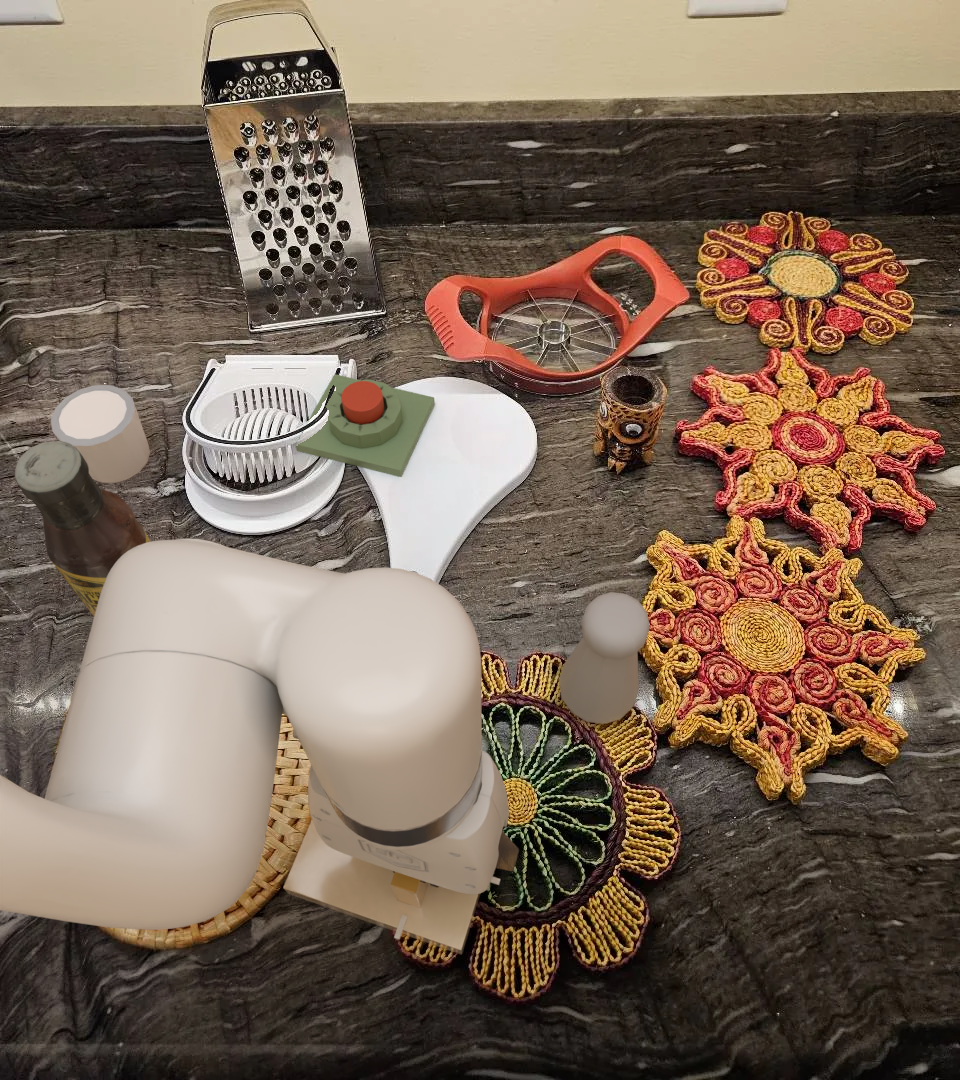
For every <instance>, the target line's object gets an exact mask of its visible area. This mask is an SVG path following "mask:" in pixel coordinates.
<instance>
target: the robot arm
mask: <svg viewBox="0 0 960 1080" xmlns="http://www.w3.org/2000/svg"><path fill="white" fill-rule="evenodd" d="M88 634H89V635H88V639H87V642H86V645H85V649H84V654H83V657H82V662H81V664H80V669H79V672H78V676H77V677H76V681H75V684H74V688H73V692H72V696H71V699H70V702H69V706H68V710H67V714H66V718H65V721H64V725H63V728H62V731H61V732H62V733H61V736H60V739H59V743H58V747H57V751H56V754H55V758H54V762H53V764H52V765H53V766H52V768H51V773H50V776H49V780H48V783H47V788H46V791H45V795H44V797H41V796H40V795H39V796H38V795H36V794H34V793H32V792H30V791H27V790H26V789H24V788H23V787H21V786H19V785H18V784H16V783H14V782H13V781H11V780H10V779H9V778H7V777H5V776H3V775H2V774H0V911H3V912H8V913H15V914H21V915H26V916H32V917H38V918H44V919H50V920H56V921H63V922H68V923H75V924H82V925H90V926H97V927H101V928H102V927H103V928H108V929H109V928H110V929H126V930H127V929H129V930H148V931H159V930H171V929H178V928H180V929H181V928H185V927H189V926H192V925H196V924H199V923H204V922H206V921H208V920H211V919H213V918H215V917H217V916H219V915H220V914H222V913H223V912H225V911H227V910H228V909H230V908H231V907H232V906H233V905H235V903H236V902H237V901H238V900H239V899H240V898H241V897H242V896H243V894H244V893H245V892H246V891H247V890H248V889H249V887H250V885H251V884H252V882H253V880H254V879H255V877H256V874H257V872H258V869H259V866H260V862H261V859H262V855H263V853H264V849H265V843H266V838H267V830H268V826H269V819H270V811H271V805H272V799H273V798H272V797H273V792H274V791H273V790H274V784H275V778H276V777H275V776H276V768H277V759H278V751H279V743H280V736H281V735H280V734H281V726H282V720H283V719H282V717H283V715H284V716H286V717H287V719H288V721H289V722H290V723H289V724H290V725H291V727H292V737H293V738H294V739H296V740H298V741H299V743H300V746H301V748H302V749H303V751H304V753H305V756H306V757H307V759H308V761H309V763H310V766H309V771H308V772H309V773H308V780H307V800H308V801H307V804H308V805H307V806H308V811H309V815H310V818H311V820H312V821H313V824H314V826H315V829H316V831H317V833H318V834H319V836H320V837H321V839H322V840H323V841H324V843H325V844H326V845H327V846H329V847H331V848H333V849H335V850H337V851H339V852H341V853H344V854H346V855H349V856H352V857H354V858H357V859H360V860H363V861H366V862H369V863H372V864H374V865H377V866H380V867H383V868H386V869H389V870H392V871H393V873H395V872H398V873H401V874H404V875H407V876H410V877H413V878H416V879H419V880H422V881H425V882H428V883H430V885H431V886H434V887H437V888H438V887H439V886H440V887H443V888H446V889H450V890H453V891H456V892H460V893H464V894H470V895H476V894H480V895H481V893H484V892H485V891H487V890H488V889H489V886H490V884H491V879H492V877H494V873H495V871H496V869H499V870H504V871H508V872H514V871H515V868H516V864H517V860H518V856H519V853H520V848H519V847H518V846H517V845H516V844H515V842H513V840H511V838H510V837H509V836H508V835H507V834H506V833H505V832H504V831H503V829H504V828H507V827H508V823H509V816H510V807H509V799H508V793H507V789H506V784H505V782H504V780H503V777H502V775H501V772H500V770H499V769H498V766H497V764H496V763H495V761H494V760H493V758H492V757H491V755H490V754H489V753H488V752H487V751H485V750H484V749H483V732H482V730H483V728H482V725H483V724H482V723H483V721H482V656H481V655H482V654H481V649H480V641H479V638H478V637H479V636H478V634H477V631H476V628H475V626H474V624H473V621H472V619H471V617H470V616H469V614H468V613H467V611H466V610H465V608H464V607H463V605H462V604H461V602H460V601H459V599H457V598H456V597H455V596H454V595H453V594H452V593H451V592H450V591H448V590H447V589H446V588H445V586H442V585H441V584H439V583H438V582H437V581H434V580H433V579H432V578H430V577H427V576H426V575H423V574H420V573H418V572H415V571H412V570H409V569H403V568H396V567H387V566H385V567H368V568H363V569H359V570H358V569H357V570H354V571H350V572H347V573H344V572H339V571H334V570H329V569H325V568H319V567H314V566H309V565H304V564H300V563H295V562H290V561H286V560H282V559H279V558H274V557H271V556H266V555H263V554H262V555H261V554H258V553H254V552H250V551H245V550H241V549H237V548H233V547H228V546H226V545H223V544H222V543H218V542H214V541H212V540H207V539H206V540H205V539H203V538H189V537H188V538H177V539H161V540H153V541H152V540H151V542H148V543H144V544H141V545H139V546H136V547H134V548H132V549H130V550H129V551H127V552H126V553H125V554H123V555H122V556H121V557H120V558H119V559H118V560H117V561H116V563H115V564H114V566H113V567H112V568H111V570H110V572H109V574H108V575H107V578H106V580H105V583H104V586H103V588H102V591H101V594H100V598H99V601H98V605H97V608H96V612H95V616H93V620H92V623H91V627H90V630H89V633H88Z"/></svg>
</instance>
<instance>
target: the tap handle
mask: <svg viewBox="0 0 960 1080" xmlns="http://www.w3.org/2000/svg"><path fill="white" fill-rule="evenodd" d="M428 884H429V883H428V882H425V881H422V880H419V879H416V878H413V877H410V876H407V875H404V874H401V873H398V872H395V873H394V876H393V879H392V881H391V887H392V889H393V892H394V894H395V897H396V899H397V900H398V901H401V902H404V903H407V904H409V905H412V906H415V907H418V908H421V905H422V902H423V899H424V896H425V893H426V890H427V887H428Z"/></svg>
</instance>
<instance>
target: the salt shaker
mask: <svg viewBox="0 0 960 1080" xmlns="http://www.w3.org/2000/svg"><path fill="white" fill-rule="evenodd" d="M650 629H651V627H650V621H649V617H648V612H647V610H646V608H645V607H644V606H643V604H641V602H640V601H639V600H638V599H637V598H634V597H633V596H631V595H628V594H627V593H622V592H616V591H615V592H614V591H609V592H607V593H602V594H599V595H597V596H596V597H595V598H594V599H593V600H592V601H590V602H589V603H588V604H587V606H586V607H585V610H584V613H583V616H582V619H581V632H582V637H581V639H580V640H579V641H578V643H577V644H576V646H575V648H574V649H573V650H572V652H571V653H570V655H569V656H568V658H567V659H566V660H565V662H564V663H563V665H562V669H561V672H560V675H559V678H558V682H559V690H560V691H559V692H560V698H561V700H562V701H563V703H564V705H565V706H566V707H567V708H568V710H569V711H570V712H571V713H572V714H573V715H575V716H576V717H578V718H579V719H581V720H583V721H584V722H586V723H593V724H601V725H606V724H609V723H613V722H615V721H620V720H621V719H623V718H624V716H626V714H627V713H629V711H630V710H631V709H632V708H633V707H635V705H636V704H635V703H636V700H637V696H638V695H639V689H640V685H639V656H638V655H639V654H638V653H639V651H640V650H641V649H642V648H643V647H644V646H645V644H646V641H647V638H648V636H649V632H650Z"/></svg>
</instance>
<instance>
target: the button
mask: <svg viewBox="0 0 960 1080" xmlns="http://www.w3.org/2000/svg"><path fill="white" fill-rule="evenodd" d="M341 400H342V405H343V410H344V414H345V416H346V418H347V419H348V420H349V421H351V422H353V423H355V424H361V425H364V424H370V423H373V422H375V421H377V420H378V419H379V418H380V417H381V416H382V414H383V412H384V401H383V394H382V391H381V389H380V388H379V387H378V386H377V385H376V384H374V383H372V382H368V381H359V382H355V383H352V384H350V385H349V386H347V387H346V388H345V389H344V391H343V393H342V396H341Z"/></svg>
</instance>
